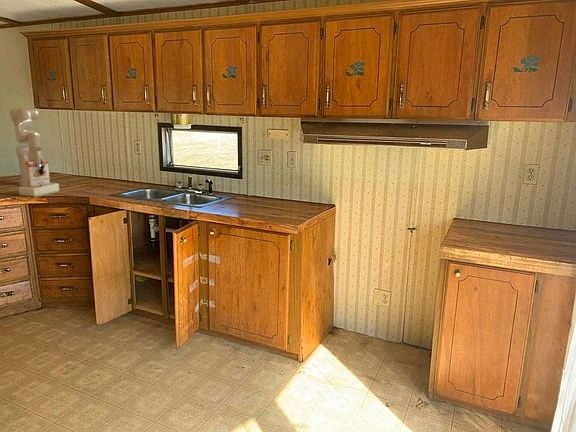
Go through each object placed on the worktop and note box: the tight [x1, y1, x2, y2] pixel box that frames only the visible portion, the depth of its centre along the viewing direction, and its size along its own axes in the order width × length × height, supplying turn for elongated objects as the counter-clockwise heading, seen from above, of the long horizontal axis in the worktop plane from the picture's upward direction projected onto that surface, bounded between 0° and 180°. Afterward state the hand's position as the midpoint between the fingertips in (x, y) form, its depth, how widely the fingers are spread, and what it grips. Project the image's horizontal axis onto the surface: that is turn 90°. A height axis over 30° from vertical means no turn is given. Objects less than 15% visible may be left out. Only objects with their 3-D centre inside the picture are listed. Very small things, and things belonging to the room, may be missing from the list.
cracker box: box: [25, 159, 51, 188], centre depth 316 cm, size 14×6×21 cm, turn 146°
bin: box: [18, 182, 60, 198], centre depth 319 cm, size 14×22×6 cm, turn 162°
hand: (37, 173), depth 316 cm, fingers closed on cracker box, 7 cm apart
